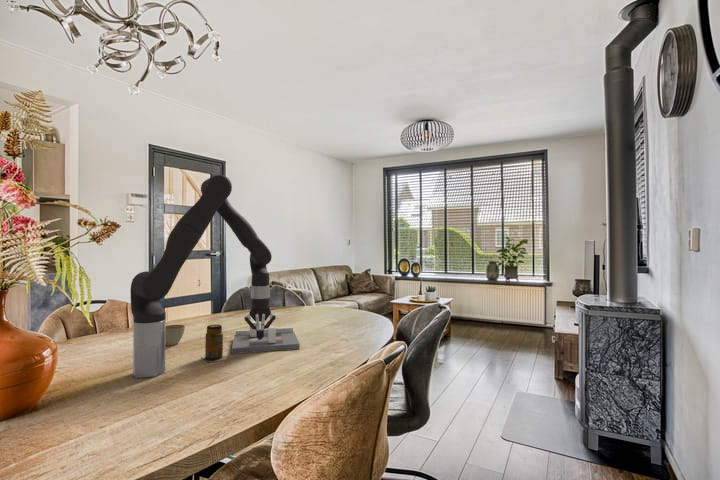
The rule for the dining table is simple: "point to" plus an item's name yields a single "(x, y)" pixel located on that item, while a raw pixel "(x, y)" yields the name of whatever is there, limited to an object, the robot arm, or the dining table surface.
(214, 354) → the condiment
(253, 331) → the breaker
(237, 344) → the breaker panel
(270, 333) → the block
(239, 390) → the dining table surface
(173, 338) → the flower pot
